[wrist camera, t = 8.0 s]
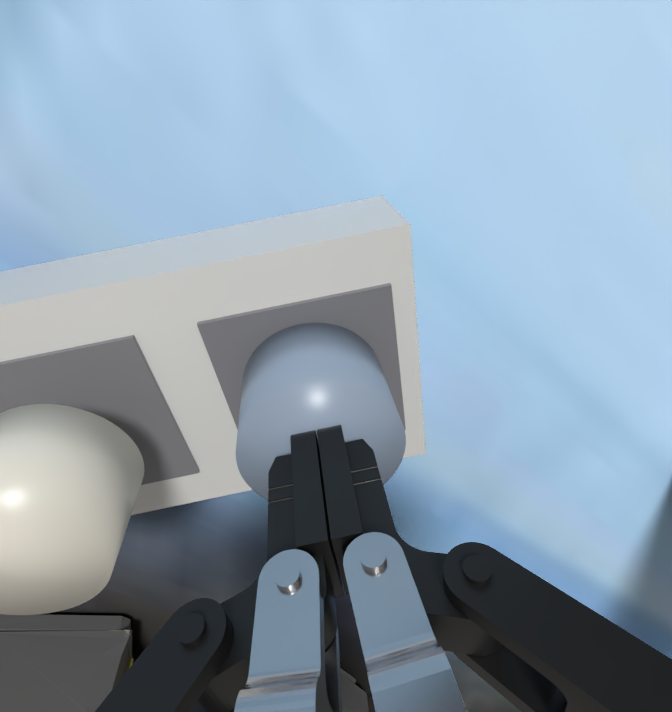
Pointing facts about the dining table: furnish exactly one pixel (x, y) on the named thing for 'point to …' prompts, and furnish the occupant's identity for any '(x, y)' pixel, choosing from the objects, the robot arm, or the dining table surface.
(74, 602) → the cream button
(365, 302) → the console
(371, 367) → the slate button
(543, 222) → the dining table surface
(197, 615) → the robot arm
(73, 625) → the circular saw
